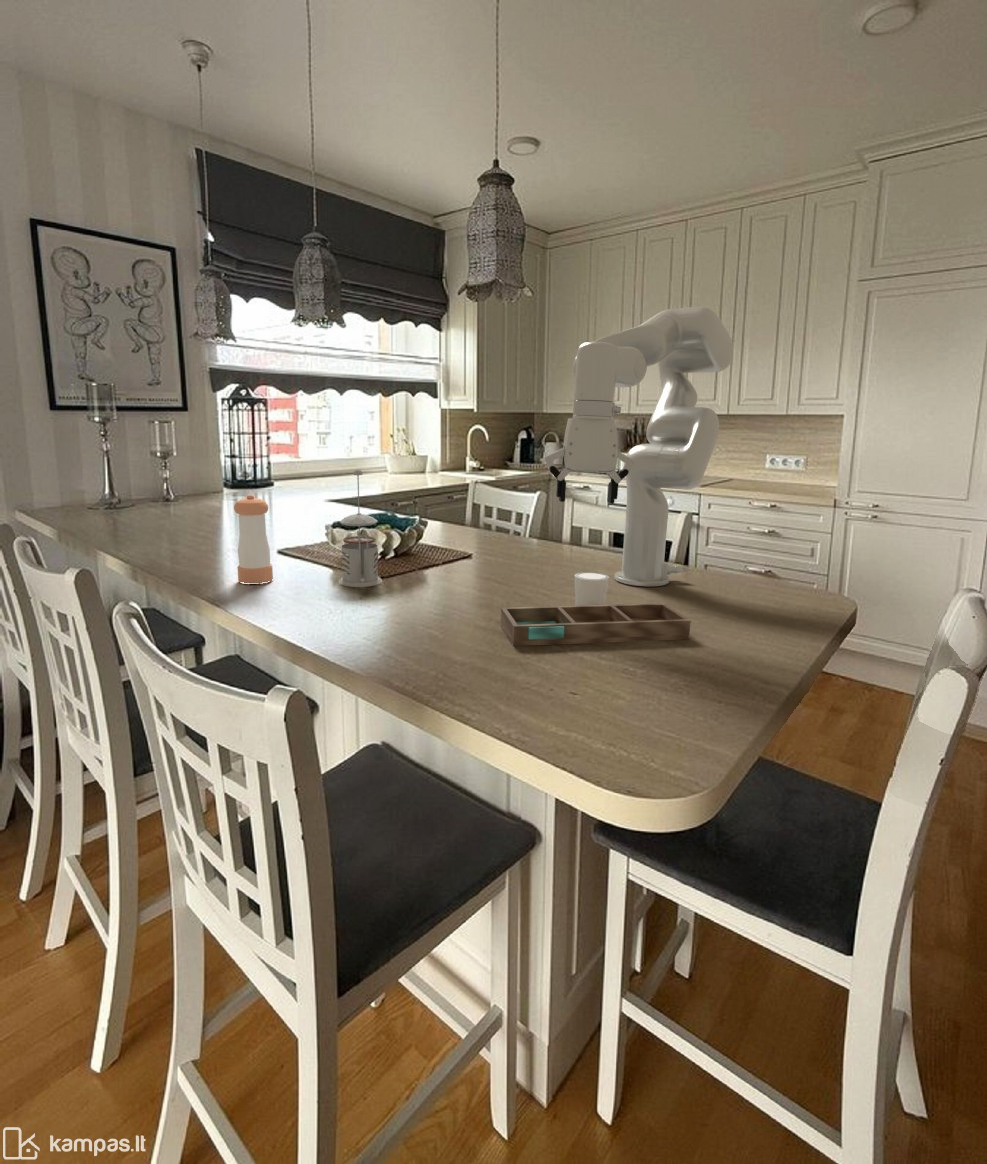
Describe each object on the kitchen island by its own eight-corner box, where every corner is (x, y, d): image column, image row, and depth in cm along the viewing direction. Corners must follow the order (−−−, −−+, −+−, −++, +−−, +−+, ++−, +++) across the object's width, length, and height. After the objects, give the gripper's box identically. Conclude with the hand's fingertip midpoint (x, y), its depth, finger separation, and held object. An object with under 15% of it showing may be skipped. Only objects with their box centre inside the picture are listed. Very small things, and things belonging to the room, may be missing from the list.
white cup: (609, 607, 136) (612, 573, 134) (603, 616, 130) (606, 581, 128) (576, 603, 138) (578, 570, 136) (568, 612, 132) (570, 577, 130)
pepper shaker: (277, 582, 149) (272, 496, 144) (243, 586, 145) (237, 497, 140) (267, 575, 154) (262, 492, 150) (234, 579, 150) (228, 493, 146)
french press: (378, 575, 158) (377, 467, 151) (387, 587, 147) (385, 472, 141) (336, 577, 154) (332, 467, 148) (341, 590, 144) (337, 472, 138)
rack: (662, 620, 128) (664, 603, 127) (690, 640, 117) (692, 621, 116) (500, 625, 122) (501, 607, 121) (513, 646, 111) (514, 627, 111)
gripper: (633, 414, 131) (625, 501, 135) (545, 410, 130) (539, 498, 134) (643, 413, 124) (634, 506, 128) (550, 408, 123) (544, 502, 127)
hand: (586, 502), depth 131 cm, fingers open, 9 cm apart
